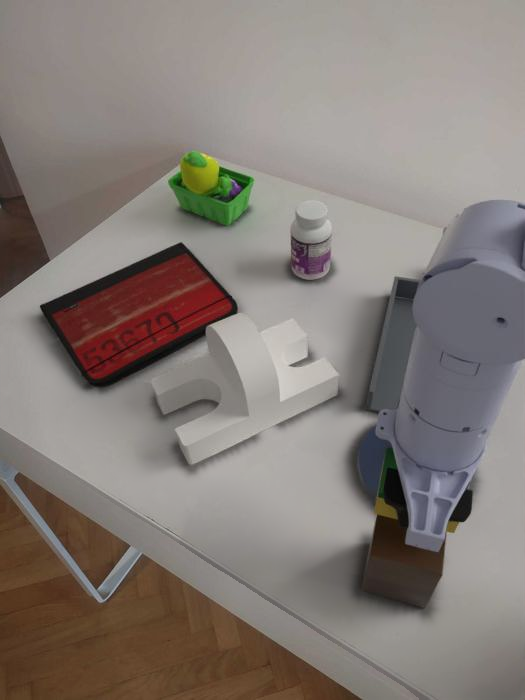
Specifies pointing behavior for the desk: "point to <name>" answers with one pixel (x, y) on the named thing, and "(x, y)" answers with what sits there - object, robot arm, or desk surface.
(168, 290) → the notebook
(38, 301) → the desk surface
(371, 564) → the brown wooden block
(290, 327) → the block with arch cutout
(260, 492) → the desk surface
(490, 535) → the desk surface
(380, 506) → the sponge
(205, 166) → the fruit basket
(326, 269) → the pill bottle
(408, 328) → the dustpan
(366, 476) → the plate
